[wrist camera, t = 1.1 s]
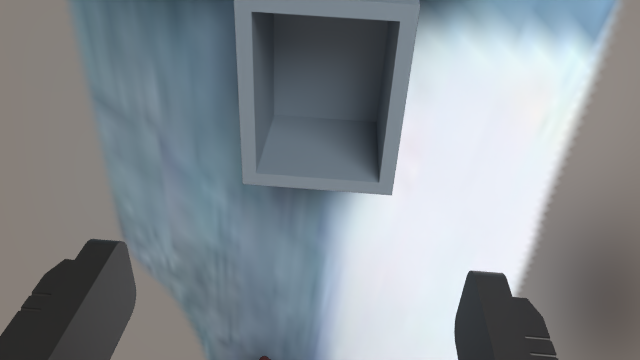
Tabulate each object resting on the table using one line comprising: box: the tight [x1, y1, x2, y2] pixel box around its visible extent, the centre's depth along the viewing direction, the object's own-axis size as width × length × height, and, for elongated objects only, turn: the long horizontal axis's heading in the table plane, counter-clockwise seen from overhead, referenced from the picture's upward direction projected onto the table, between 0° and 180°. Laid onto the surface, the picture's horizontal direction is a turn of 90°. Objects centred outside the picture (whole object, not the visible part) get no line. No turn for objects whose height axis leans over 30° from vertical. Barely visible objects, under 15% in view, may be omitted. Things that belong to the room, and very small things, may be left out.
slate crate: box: [234, 0, 420, 195], centre depth 23 cm, size 8×6×6 cm
